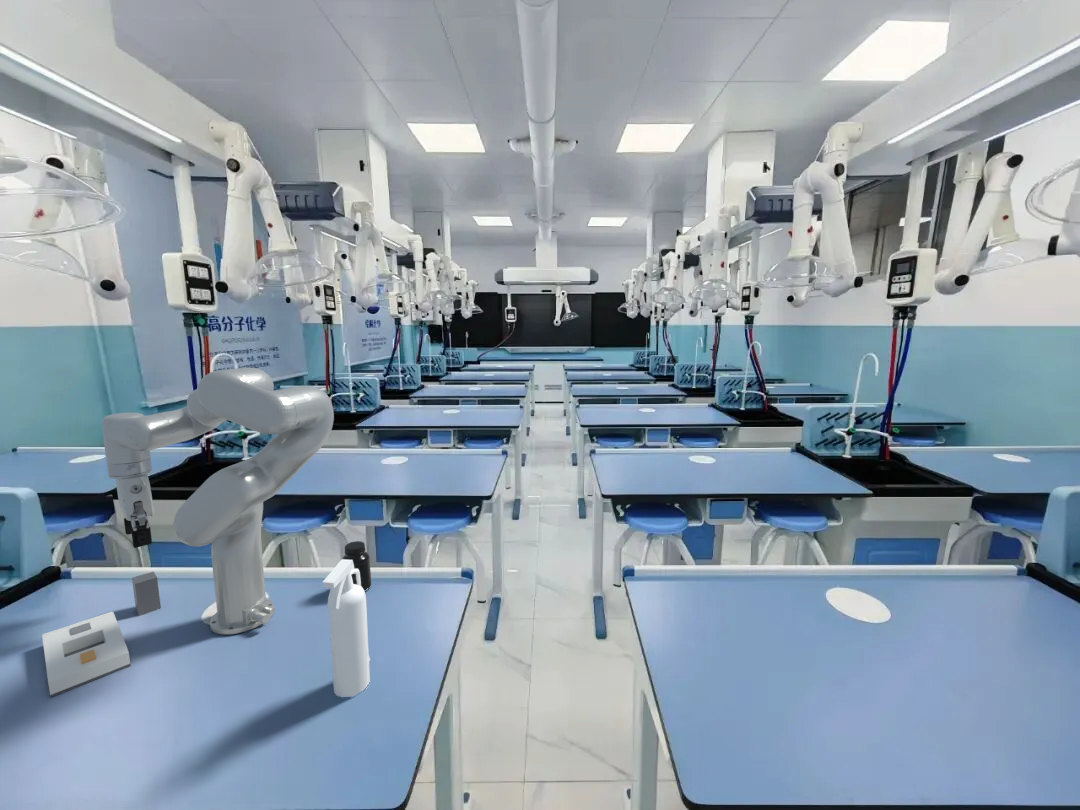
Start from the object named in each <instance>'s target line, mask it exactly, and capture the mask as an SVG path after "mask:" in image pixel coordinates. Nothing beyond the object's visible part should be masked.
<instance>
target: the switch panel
mask: <svg viewBox="0 0 1080 810" xmlns="http://www.w3.org/2000/svg"><path fill="white" fill-rule="evenodd" d="M41 635H42V636H41V637H42V646H43V652H44V661H45V668H46V677H47V683H48V690H49V695H50V698H53V697H55V696H56V697H57V696H58V695H60V694H63V693H66V692H68V691H71V690H73V689H76V688H79V687H80V686H83V685H86V684H89V683H91V682H93V681H97V680H98V679H101V678H104V677H107V676H108V675H110V674H114V673H116V672H119V671H121V670H123V669H126V668H129V667H131V660H130V659H131V658H130V652H129V649H128V646H127V644H126V642H125V639H124V636H123V634H122V631H121V627H120V625H119V623H118V621H117V618H116V615H115V612H114V611H110V612H107V613H104V614H100V615H97V616H94V617H91V618H88V619H85V620H81V621H79V622H76V623H73V624H70V625H68V626H67V625H66V626H64V627H60V628H58V629H55V630H51V631H48V632H45V633H42V634H41Z"/></svg>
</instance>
